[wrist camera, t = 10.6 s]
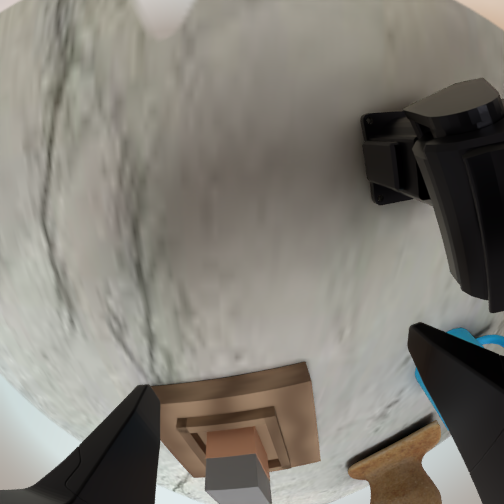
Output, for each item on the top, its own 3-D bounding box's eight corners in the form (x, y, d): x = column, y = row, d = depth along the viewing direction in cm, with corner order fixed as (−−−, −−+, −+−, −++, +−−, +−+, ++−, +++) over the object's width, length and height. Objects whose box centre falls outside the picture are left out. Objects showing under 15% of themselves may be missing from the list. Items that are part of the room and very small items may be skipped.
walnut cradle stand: (305, 361, 24) (314, 391, 21) (316, 445, 30) (322, 468, 27) (139, 387, 25) (131, 414, 21) (194, 462, 31) (193, 485, 27)
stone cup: (359, 478, 37) (380, 544, 23) (338, 461, 33) (361, 545, 19) (437, 437, 34) (469, 499, 20) (432, 410, 30) (475, 488, 16)
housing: (267, 455, 26) (273, 507, 20) (227, 460, 26) (228, 512, 20) (253, 423, 24) (258, 486, 17) (207, 428, 24) (204, 490, 17)
